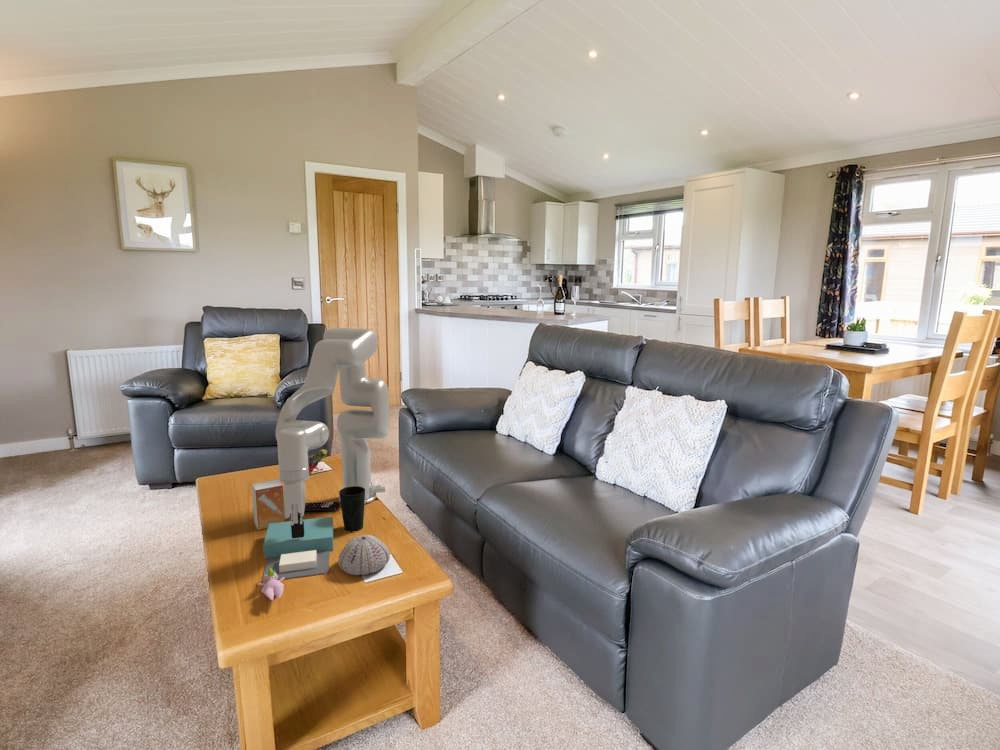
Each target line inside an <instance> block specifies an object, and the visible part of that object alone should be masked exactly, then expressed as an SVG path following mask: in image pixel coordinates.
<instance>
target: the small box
mask: <svg viewBox="0 0 1000 750" xmlns="http://www.w3.org/2000/svg"><path fill="white" fill-rule="evenodd" d="M282 483H283V482H281V481H280V478H278V479H273V480H266V481H262V482H261V481H260V482H256V483H252V484H251V493H252V508H253V509H252V511H253V521H254V524H255V527H256V529H257V530H258V531H260V530H264V529H268V526H269V523H278V522H286V518H285V516H284V484H282Z"/></svg>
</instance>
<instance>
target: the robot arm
mask: <svg viewBox="0 0 1000 750" xmlns="http://www.w3.org/2000/svg"><path fill="white" fill-rule="evenodd" d="M375 332H376V331H373V330H372V329H370V328H348V327H347V328H346V327H344V328H343V327H339V328H338V327H336V328H335V327H334V328H330V329H327V330H326V331H325V332H323V337H322V338H323V339H322V340H319V341H318V342H317V343H316V344H315V345H314V349H313V352H312V354H311V355H312V356H311V358H310V363H309V365H308V366H309V367H308V370H307V374H306V377H305V379H304V380H305V381H304V383H303V385H302V386H301V387H299V388H298V389H297V390H296V391H295V392H294V393H292V395H291V396H290V397H289V398H288V399H287V400H286V401H285V403H284V404H283V405H282V407H281V409H280V412H279V416H278V418H277V423H276V427H275V439H276V441H277V457H278V458H277V459H278V471H279V474H278V475H279V480H280V482H281V483H283V494H284V516H285V520H286V519H288V518H290V521H291V533H292V538H301V537H304V521H303V520H304V515H305V510H306V509H305V508H306V480H307V481H308V479H309V478H310V474H309V472H310V471H309V464H308V458H309V451H311V450H316V449H319V448H321V447H323V446H324V445H325V444H326V443H327V441H328V440H329V437H330V430H329V428H328V426H327V425H326V424H325V423H323V422H321V421H316V420H303V419H302V420H300V419H298V420H297V417H298V415H299V413H300V412H301V411H302V410H303V409H304V408H306V407H307V406H308V405H310V404H312V403H314V402H317V401H320V400H321V399H325V398H326V397H329V396H331V395H332V394H334V391H335V388H336V383H337V380H338V374H339V389H340V390H339V392H340V400H341V402H342V403H343V404H344V405H345V406H349V407H362V408H363V407H364V408H371V410H370V409H355V408H352V409H351V408H349V409H346V410H343V411H341V412H340V413H339V414H338V416H337V419H336V427H337V432H338V436H339V440H340V441H339V442H340V450H341V453H340V454H341V471H342V489H343V488H346V487H351V486H359V487H363V488H364V489H365V503H364V505H366V503H367V504H369V503H371V502H373V501H375V500H376V498H377V493H385V492H386V487H385V486H382V485H381V484H379V485H374V484H373V481H372V468H371V467H372V464H371V448H370V445H369V443H368V442H367V439H371V440H372V439H373V440H383V439H384V438H386V437H387V436H388V435H389V432H390V425H391V421H390V419H391V418H390V416H391V415H390V393H389V392H390V391H389V387H388V385H387V383H386V381H384V380H383V379H381V378H368V377H367V373H366V372H367V371H366V363H365V362H367V360H369V359H370V358H371V357H372V356H373V355H374V354H375V352H376V351H377V349H378V344H379V343H378V336H377V334H376V333H375ZM373 494H374V495H375V496H376V497H374V495H373ZM338 501H339V502H340V495H339V496H338Z"/></svg>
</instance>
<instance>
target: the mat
mask: <svg viewBox="0 0 1000 750" xmlns="http://www.w3.org/2000/svg"><path fill="white" fill-rule="evenodd" d="M280 558H281V557H275V558H268V559H267V560H266V565H265V567H264V568H265V569H264V571H263V575H264V574H265V575H267V574H268V572H269V569H270V568H271V569H272V570H273V572H274V570H275V572H276V574H277V575H278V580H280V579H282V578H283V577H285V579H284V580H291V579H296V578H297V579H298V578H304V577H312V576H319V575H320V576H321V575H326V574H329V573H330V551H322V552H317V562H316V568H310V569H303V570H295V571H288V572H279V563H280ZM261 582H262V583H263V579H262V581H261Z"/></svg>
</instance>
